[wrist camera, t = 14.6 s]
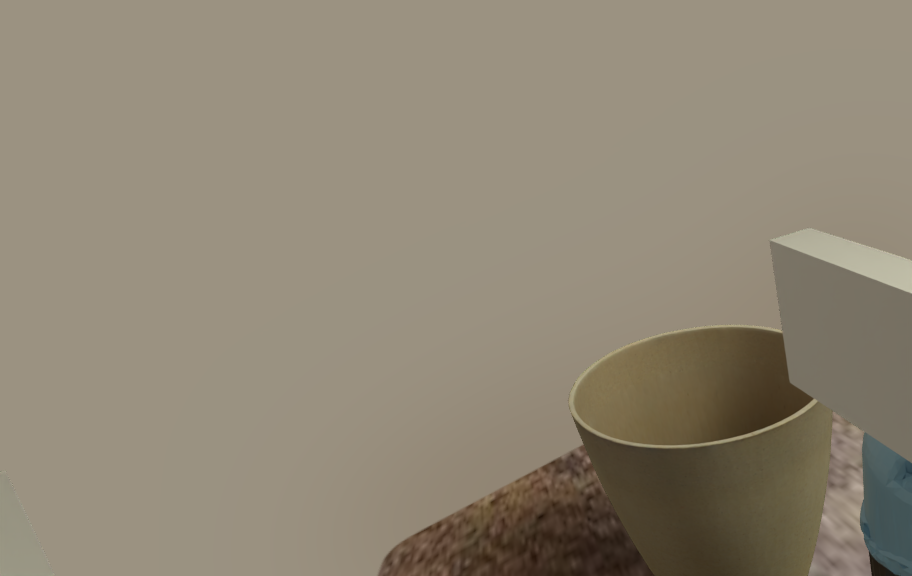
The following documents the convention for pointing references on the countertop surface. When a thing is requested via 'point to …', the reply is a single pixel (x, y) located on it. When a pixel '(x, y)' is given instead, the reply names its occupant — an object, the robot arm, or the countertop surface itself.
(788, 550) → the plant pot
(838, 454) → the countertop surface
